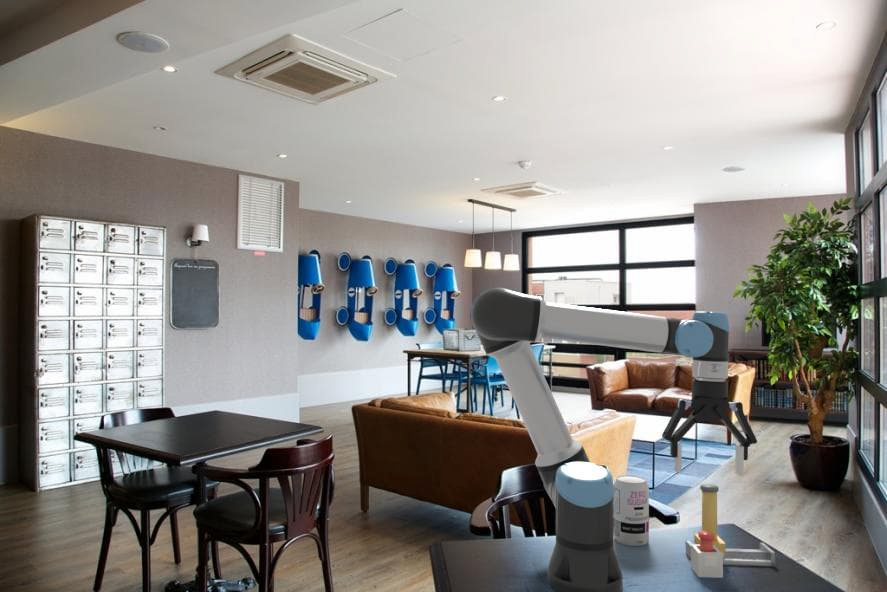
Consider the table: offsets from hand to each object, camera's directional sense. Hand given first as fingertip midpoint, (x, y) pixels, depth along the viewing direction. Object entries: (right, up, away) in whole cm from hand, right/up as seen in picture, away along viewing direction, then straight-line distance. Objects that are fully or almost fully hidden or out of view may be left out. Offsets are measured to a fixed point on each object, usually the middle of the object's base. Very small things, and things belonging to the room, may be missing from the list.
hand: (708, 473), depth 142 cm
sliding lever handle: (0, -18, 0) cm, 18 cm away
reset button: (-4, -16, -8) cm, 18 cm away
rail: (+4, -19, -1) cm, 20 cm away
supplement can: (-14, -20, +11) cm, 27 cm away
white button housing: (-4, -19, -8) cm, 21 cm away
